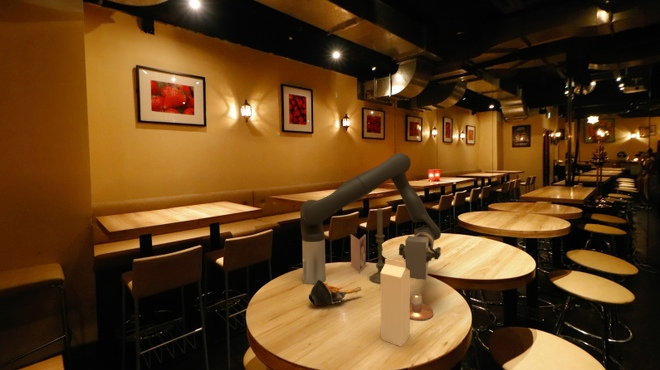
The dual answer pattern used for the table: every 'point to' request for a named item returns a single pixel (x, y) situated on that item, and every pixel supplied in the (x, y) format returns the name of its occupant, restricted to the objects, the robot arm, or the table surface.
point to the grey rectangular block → (416, 256)
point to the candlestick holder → (379, 248)
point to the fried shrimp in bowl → (328, 294)
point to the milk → (395, 302)
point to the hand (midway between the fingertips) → (416, 257)
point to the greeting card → (358, 253)
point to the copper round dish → (419, 309)
